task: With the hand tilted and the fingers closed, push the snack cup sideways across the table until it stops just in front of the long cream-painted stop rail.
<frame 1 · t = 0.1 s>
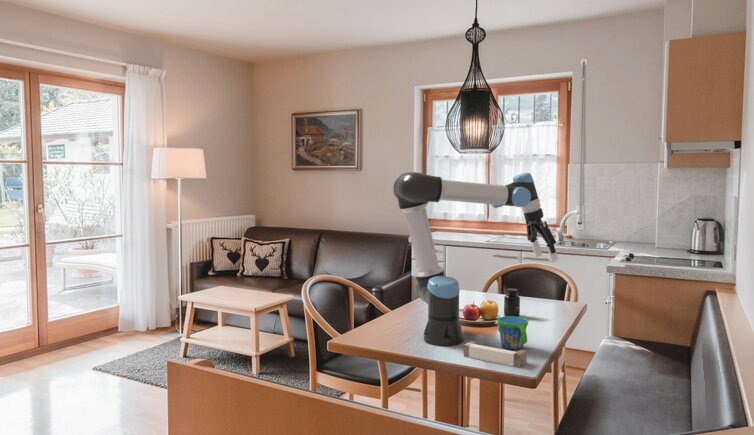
hand: (546, 258, 229), 28 cm above the table, tool tilted 20°, fingers open, 13 cm apart
supplement bottle: (511, 316, 243), on the table
stop rail: (492, 360, 185), on the table
snack cup: (512, 347, 199), on the table
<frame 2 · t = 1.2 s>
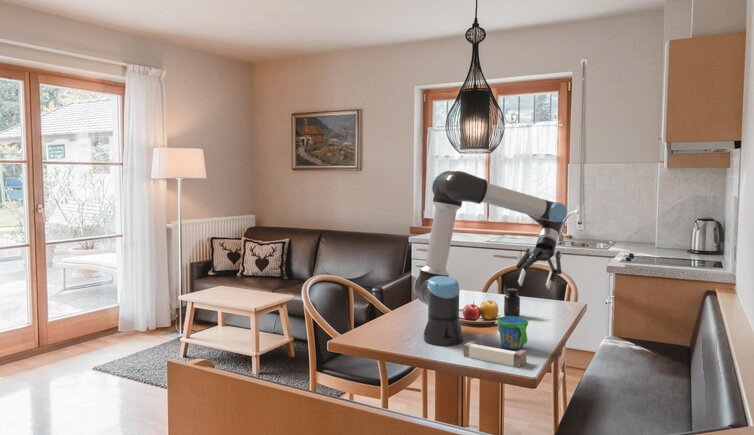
hand: (533, 285, 215), 19 cm above the table, tool tilted 45°, fingers open, 10 cm apart
nothing on the table moved.
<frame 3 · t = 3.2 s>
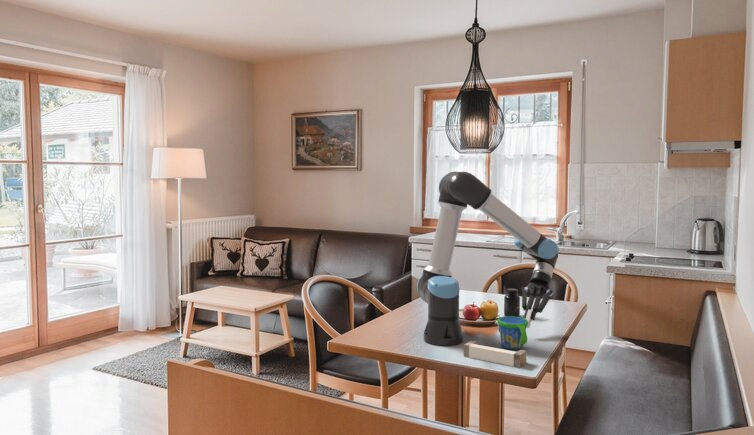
hand: (526, 325, 211), 5 cm above the table, tool tilted 45°, fingers closed
nothing on the table moved.
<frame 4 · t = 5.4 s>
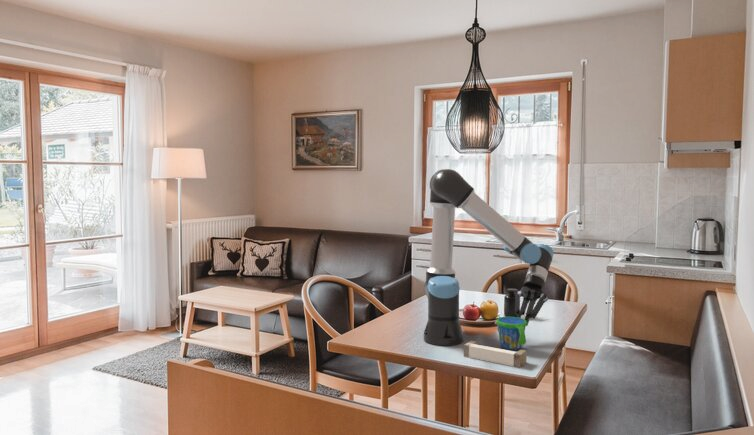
hand: (519, 331, 202), 5 cm above the table, tool tilted 45°, fingers closed
snack cup: (511, 348, 199), on the table, touching gripper
everything else where it was.
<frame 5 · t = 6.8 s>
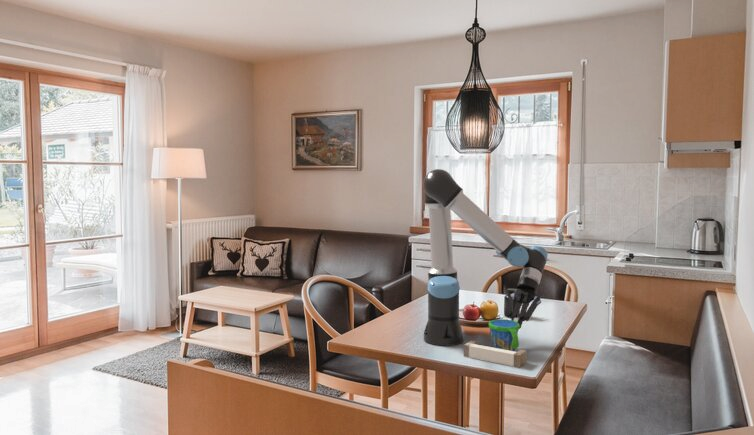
hand: (512, 335, 199), 5 cm above the table, tool tilted 45°, fingers closed
snack cup: (503, 351, 195), on the table, touching gripper
everything else where it was.
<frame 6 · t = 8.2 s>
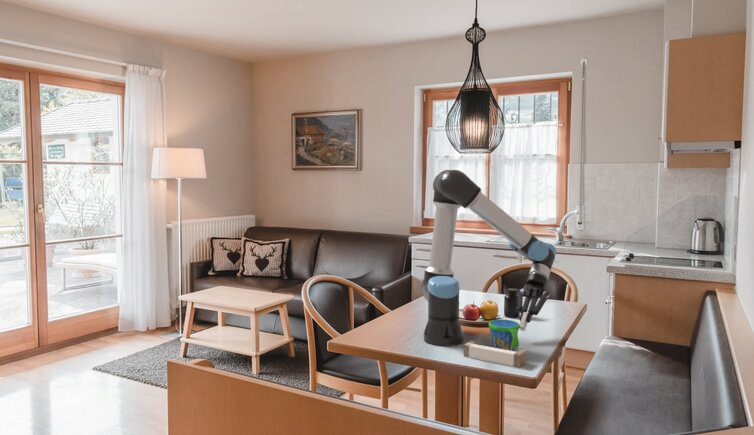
hand: (521, 328, 206), 5 cm above the table, tool tilted 45°, fingers closed
snack cup: (503, 351, 195), on the table
everything else where it was.
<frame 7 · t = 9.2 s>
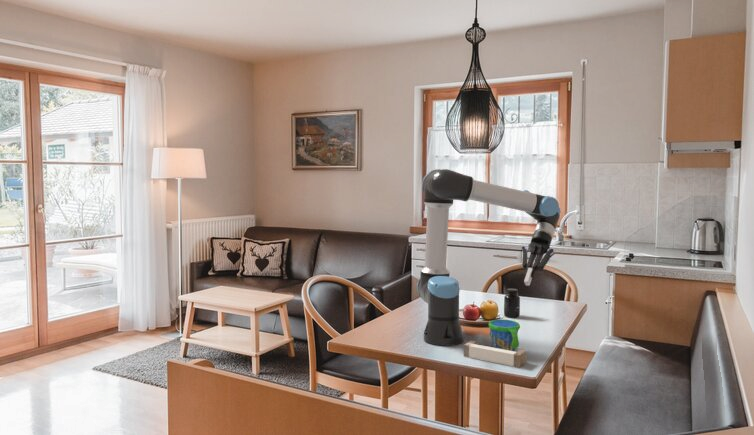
hand: (526, 283, 209), 21 cm above the table, tool tilted 45°, fingers closed
nothing on the table moved.
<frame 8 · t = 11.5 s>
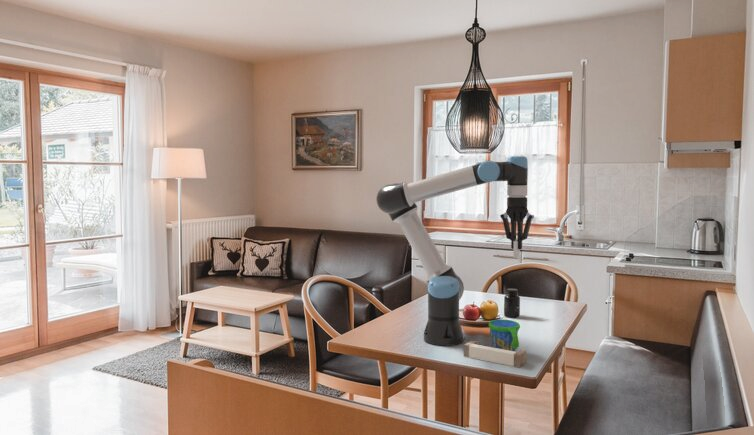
hand: (516, 257, 213), 30 cm above the table, tool pointing down, fingers closed
nothing on the table moved.
at the end: snack cup inside the target area (2.3 cm from its centre), on the table; snack cup tilted 0°; snack cup moved 6.2 cm from its start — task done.
